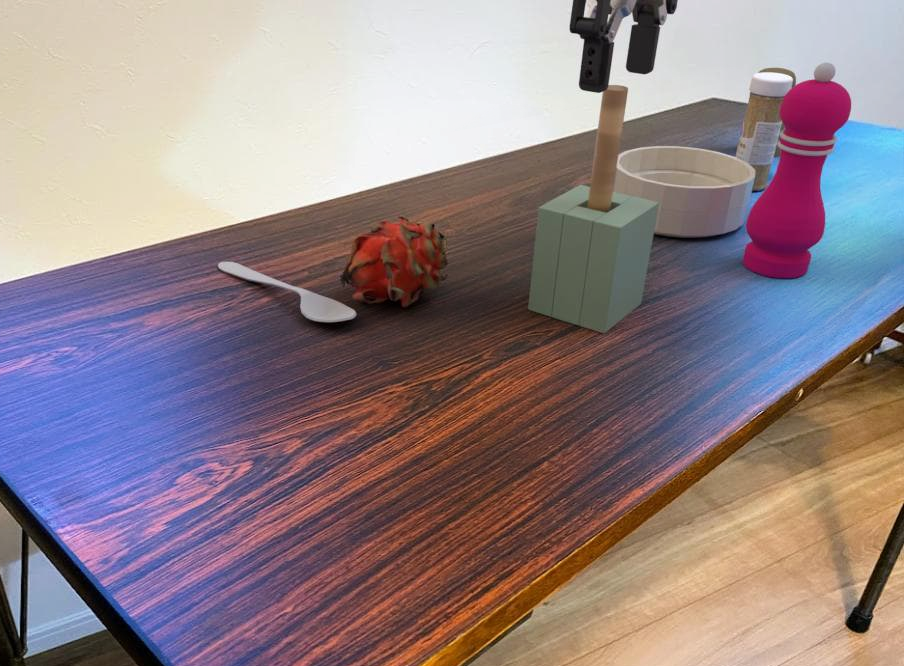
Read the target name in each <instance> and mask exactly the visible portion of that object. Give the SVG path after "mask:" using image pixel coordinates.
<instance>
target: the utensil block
mask: <svg viewBox="0 0 904 666" xmlns="http://www.w3.org/2000/svg"><path fill="white" fill-rule="evenodd" d="M589 191H590V186H588V185H585V184H584V185H583V184H579V185H577V186H575V187H573V188H572V189H570V190H568V191H566V192H564V193H562V194H561V195H559V196H557V197H554V198H553V199H551V200H549V201H547V202H545V203H544V204H542V205H540V206H538V210H537V221H536V228H535V229H536V230H535V238H534V249H533V257H532V266H531V268H532V269H531V276H530V277H531V278H530V288H529V295H528V304H527V305H528V307H527V311H531V312H534V313H537V314H539V315H544V316H547V317H550V318H553V319H556V320H560V321H563V322H566V323H569V324H571V325H575V326H577V327H578V326H579V327H582V328H584V329H588V330H591V331H594V332H597V333H601V334H606V333H607V332H608V331H609V330H611V329H612V328H613V327H614V326H616V325H617V324H618V323H620V322H621V321H622V320H623V319H625V317H627V316H628V315H629V314H631V313H632V312H633V311H634V310H636V309H637V308H638V307H640V306H641V305H642V302H643V296H644V290H645V286H646V280H647V273H648V267H649V262H650V258H651V257H650V256H651V251H652V245H653V241H654V235H655V234H654V229H655V223H656V218H657V212H658V207H659V202H655V201H650V200H646V199H642V198H637V197H632V196H628V195H624V194H619V193H615V192H613V195H612V202H611V209H610V211H609V212H608V213H605V212H601V211H597V210H592V209H588V208H587V206H588V198H589Z"/></svg>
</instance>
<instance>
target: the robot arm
mask: <svg viewBox="0 0 904 666" xmlns="http://www.w3.org/2000/svg"><path fill="white" fill-rule="evenodd" d="M586 5H587V7H588V9H587V10H586ZM677 8H678V0H572V5H571V13H570V21H569V32H570V33H571V34H573V35H574V34H575V35H579V38H580V39H581V40H583V46H582V55H581V63H580V72H579V79H578V87H579V89H580V90H582V91H584V92H591V93H597V94H600V93H603V91H605V90H607V88H608V85H610V77H611V69H612V62H613V56H614V49H615V38H616V36H617V33H618V31H619V30H620V29H619V28H620V26H621V23H622V21H623V19H625V18H626V17H629V16H630V15H632V20H633V22H634V23H635V24H631V29H630V35H629V43H628V49H627V57H626V63H625V70H626V71H627V72H628V73H632V74H639V75H647V74H650V73H652V72H653V71H654V69H655V64H656V63H655V62H656V57H657V56H656V55H657V50H658V44H659V38H660V31H661V26H664V25H665V23H666V22H667V18H668V15H674V14H675V12H676V10H677ZM585 11H586V14H585ZM609 15H610V16H609ZM636 23H637V24H636Z"/></svg>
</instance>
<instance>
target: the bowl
mask: <svg viewBox="0 0 904 666" xmlns="http://www.w3.org/2000/svg"><path fill="white" fill-rule="evenodd" d="M754 179H755V169H754V168H753V167H752V166H751V165H750V164H749V163H747V162H745V161H743V160H740V159H738V158H736V156H733V155H729V154H728V153H727V154H726V153H723V152H720V151H716V150H710V149H706V148H705V149H704V148H699V147H690V146H679V145H656V146H654V145H653V146H643V147H637V148H634V149H627V150H624V151H623V152H621V153H619V155H618V162H617V168H616V175H615V182H614V189H613V192H615V193H619V194H624V195H628V196H632V197H637V198H642V199H646V200H650V201H655V202H659V207H658V212H657V218H656V223H655V229H654V235H659V236H663V237H671V238H686V239H689V238H691V239H692V238H693V239H694V238H709V237H713V236H714V237H715V236H718V235H724V234H726V233H727V234H728V233H730V232H733V231H736V230H738V229H739V228H740V227H741V226H743V225H744V224H745V223H746V222H745V221H746V218H747V214H748V210H749V209H748V208H749V205H750V200H751V196H752V192H753V191H752V188H753V184H754Z"/></svg>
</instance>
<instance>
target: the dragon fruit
mask: <svg viewBox="0 0 904 666" xmlns="http://www.w3.org/2000/svg"><path fill="white" fill-rule="evenodd" d="M397 218H398V219H399V221H398V222H397V223H390V222H389V221H387V220H383V221H377V222H376V223H374V224H373V225H372V226H371V229H370V231H369V232H365V233H362V234H360V235H357V236H356V237H355V238H353V240H352V244H351V247H350V248H351V250H350V254H349V257H348V259H347V261H346V264H345V268H344V270H343V271H342V274H341V275H340V277H339V278H340V284H341V286H342V288H344V287H345V286H346V284H347V285H351V286H352V287H353V288H356V289H358V290H356V291H355V292H354V293H352V295H351V297H352V299H353V300H354V301H356V302H357V304H359V303H366V304H369V305H371V304H379V303H383V302H385V301H387V300H388V301H389V300H390V301H392V302H397V301H398V300H400V304H401V307H402V308H407V307H408V306H410V305H411V304H413V303H415V301H417V300H418V299H419V297H421V296H422V295H423V294H424V290H423V289H424V288H425V289H426V290H427V291H432V290H435V289H439V288H440V287H441V283H442V282H444V281H446V280H447V278H448V273H447V274H446V275H445V276H443V275H441V274H440V271H441V270H443V269H445V268H446V267H447V266H448V265H449V264H448V259H447V256H446V252H448V251H449V248H448V242H447V240H448V237H447V235H446V236H445V235H444V234H443V233H441V232H440V231H439V230H435V226H436V225H435V224H434V223H432V222H426V221H423V222H422V223H421V224H420V223H418V222H414V223H413V222H411V221H409V219H408V218H407V217H406V216H405V215H403V214H400V215H399V216H397Z"/></svg>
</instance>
